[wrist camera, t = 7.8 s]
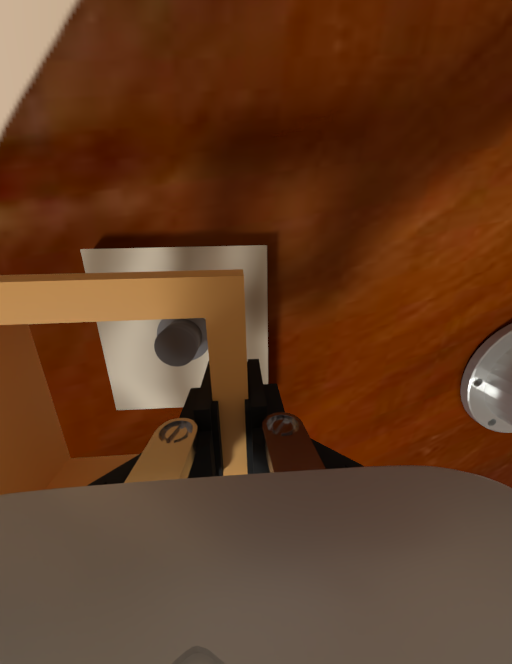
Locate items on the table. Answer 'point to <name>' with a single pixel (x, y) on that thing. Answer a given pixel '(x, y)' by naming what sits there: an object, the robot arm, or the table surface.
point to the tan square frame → (109, 305)
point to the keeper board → (141, 334)
